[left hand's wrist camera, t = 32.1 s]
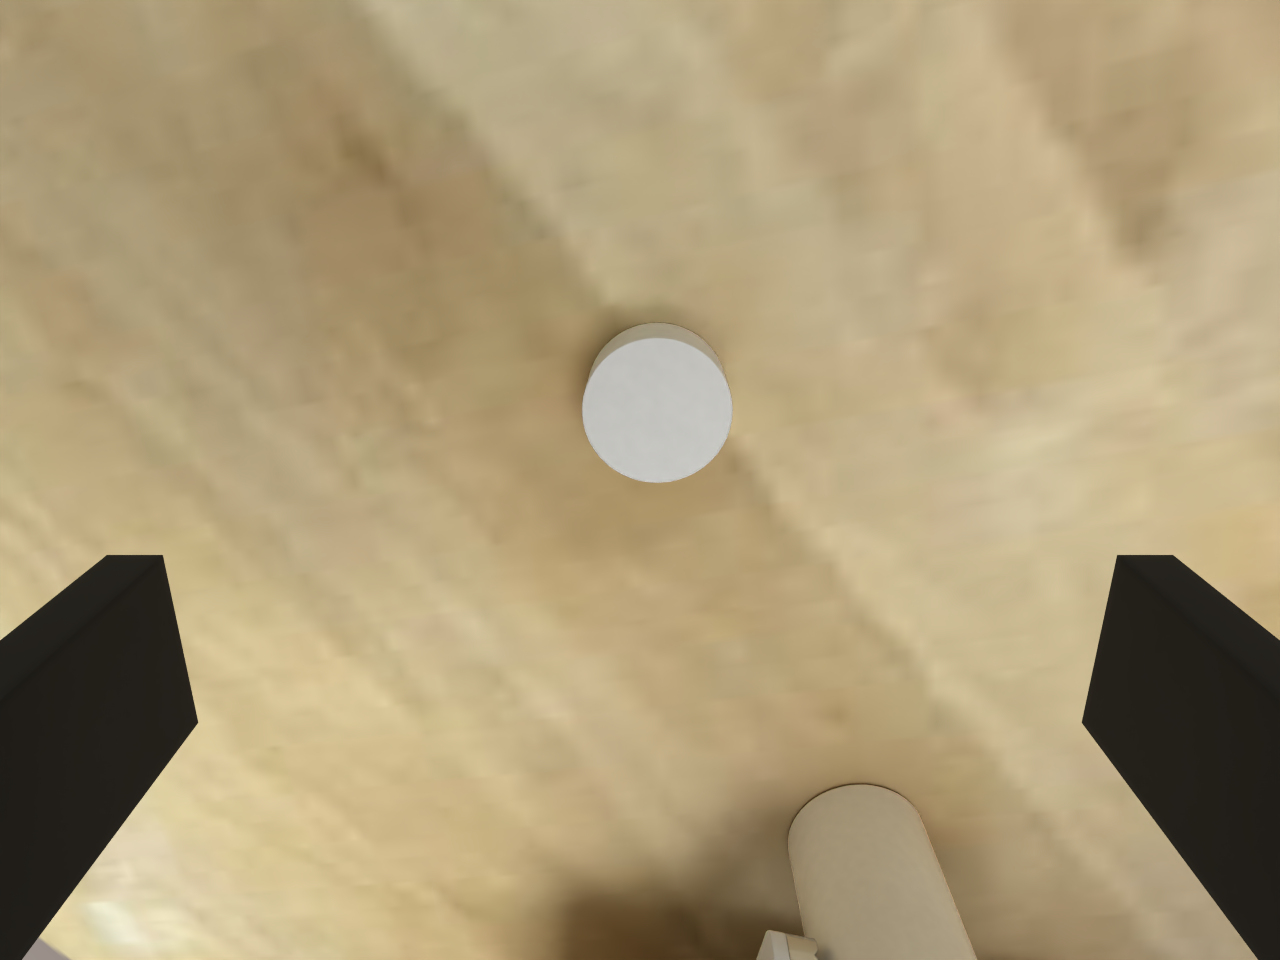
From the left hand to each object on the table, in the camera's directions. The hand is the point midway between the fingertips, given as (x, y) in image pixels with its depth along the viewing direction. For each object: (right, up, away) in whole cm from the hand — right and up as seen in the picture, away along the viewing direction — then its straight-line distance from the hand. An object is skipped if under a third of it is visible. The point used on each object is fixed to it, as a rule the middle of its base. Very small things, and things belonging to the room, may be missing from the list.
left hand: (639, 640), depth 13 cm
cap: (0, +4, +13) cm, 13 cm away
